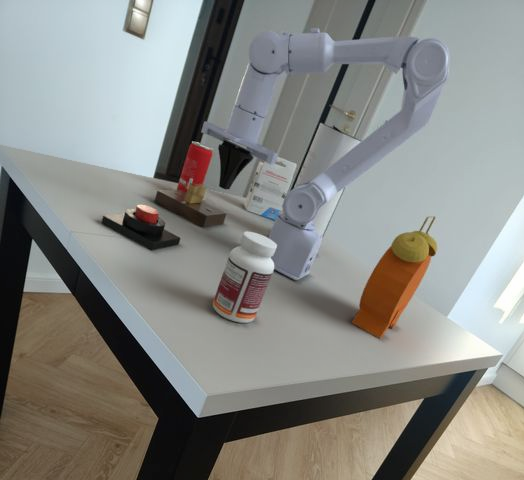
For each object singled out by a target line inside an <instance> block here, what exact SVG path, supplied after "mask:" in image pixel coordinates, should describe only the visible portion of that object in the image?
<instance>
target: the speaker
mask: <svg viewBox="0 0 524 480" xmlns="http://www.w3.org/2000/svg"><path fill="white" fill-rule="evenodd" d="M361 141H362V140H361V139H359V138H357V137H355V136H353V135H351V134H348V133H346V132H344V131H342V130H341V129H339V128H338V127H336V125H334V124H332V126H330V125H328V124H326V123H323V122H320V123H319V125H318V129H317V130H316V133H315V135H314V138H313V140H312V142H311V145H310V148H309V150H308V152H307V155H306V157H305V160H304V162H303V164H302V167H301V170H300V172H299V174H298V177H297V179H296V182H295V184H294V187H293V189H294V188H295V187H296V186H297V185H299V184H302V183H307V182H310V181H312V180H313V179H314V178H316V177H317V176H318V175H320V174H321V173H322V172H323V171H325V170H326V169H327V168H329V167H330V166H331V165H332V164H334V163H335V162H336V161H337V160H339V159H340V158H341V157H342V156H344V155H345V154H346V153H348V152H349V151H350V150H351V149H353V148H354V147H355V146H356V145H358V144H359V143H360V142H361ZM345 189H346V187H345V188H343V189H342V190H341V191H339V192H338V193H337V194H336V195H335V196H334V197H332V198H331V199H330V200H329V201H328V202H327V203H325V204H324V205H323V206H322V207H321V208H320V210H319V211H318V213H317V215H316V217H315V218H314V219H313V224H314V225H315V227H314V229H313V230H314V231H315V232H317V233H319V234H320V235H322V237H323V238H324V237H325V234H326V231H327V230H328V227H329V225H330V223H331V222H332V221H331V220H332V219H333V217H334V214H335V211H336V209H337V207H338V205H339V203H340V201H341V198H342V196H343V194H344V192H345Z"/></svg>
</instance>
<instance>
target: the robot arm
mask: <svg viewBox="0 0 524 480" xmlns="http://www.w3.org/2000/svg"><path fill="white" fill-rule="evenodd" d="M280 31H281V32H280V35H278V34H277V32H275V31H273V30H267V31H265V32H261V33H259V34H257V35H255V37H253V39H252V40H251V41H250V44H249V48H248V59H249V61H248V64H247V67H246V69H245V73H244V76H243V77H242V79H241V84H240V86H239V89H238V93H237V95H236V97H235V98H236V99H235V102H234V105H233V107H232V110H231V115H230V118H229V121H228V123H227V126H226V128H223V127H221V126H218V125H217V124H214V123H212V122H209V121H204V122H203V125H202V128H201V131H200V132H201V133H202V134H204V135H207V136H210V137H212V138H214V139H216V140H219V141H220V142H221V144H218V147H217V150H218V156H219V165H220V166H219V182H218V187H219V188H221V189H223V190H231V187H232V185H233V184H234V182H235V181H236V179H237V178H238V176H239V175H240V173H241V172H242V171H243V170H244V169H245V168H246V167H247V166H248V165H249V164H250V163H251V162H252V161H253V160H254V157H255V158H257V159H259V160H261V161H263V162H264V161H266V163H269V164H272V165H274V164H276V163H277V162H276V159H277V157H279V153H277V152H275V151H274V150H271V149H269V148H267V147H265V146H263V145H262V144H259V143H258V140H259V137H260V134H261V132H262V129H263V127H264V123H265V120H266V117H267V114H268V111H269V109H270V106H271V104H272V100H273V97H274V95H275V91H276V90H275V88H276V86H277V84H278V81H279V77H280V75H282V74H283V73H284V72H285V74H287V75H301V74H302V75H305V74H310V75H311V74H325V73H327V72H328V71H329V70H330V68H331V67H332V66H334V65H382V66H384V67H385V68H387V69H388V70H389V71H391V72H392V73H394V74H395V75H398V73H399V71H400V69H401V70H402V71H401V73H402V81H403V82H402V83H403V88H404V90H403V94H402V100H401V106H400V109H399V111H398V112H397V113H395V114H394V115H393V116H392V117H391V118H389V119H388V120H386V121H385V122H384V123H383V124H382V125H380V126H379V127H377V128H376V129H375V130H374V131H373V132H371V133H370V134H369V135H367V136H366V137H365V138H363V140H361V142H360V143H359V144H358V145H356V146H355V147H354V148H353V149H351V150H350V151H349V152H348V153H346V154H345V155H344V156H342V157H341V158H340V159H339V160H337V161H336V162H335V163H334V164H332V165H331V166H330V167H329V168H327V169H326V170H325V171H323V172H322V173H321V174H320V175H318V176H317V177H316V178H314V179H313V180H312V181H310V182H307V183H302V184H299V185H297V186H296V187H295V188H294V187H293V188H292V189H291V190H290V191H288V192H287V194H286V196H285V198H284V201H283V204H282V210H280V211H279V212H278V215H277V217H276V220H274V223H273V225H272V227H271V230H270V232H269V234H268V237H267V238H269V239H271V240H272V241H273V242H275V243H276V245H277V248H276V250H275V253H274V255H273V256H271V259H272V261H273V262H274V270H275V271H276V272H278V273H280V274H281V275H284V276H285V277H287V278H290V279H292V280H294V281H298V280H300V279H302V278H304V277H306V276H308V275H309V274H310V270H311V268H312V266H313V263H314V261H315V259H316V257H317V255H318V252H319V250H320V248H321V246H322V243H323V238H324V236H323V237H322V235H320V234H319V233H317V232H315V231H314V230H313V229H314V227H315V225H314V224H313V219H314V218H315V217H316V215H317V213H318V211H319V210H320V208H321V207H322V206H323V205H324V204H325V203H327V202H328V201H329V200H330V199H331V198H332V197H334V196H335V195H336V194H337V193H338V192H339V191H341V190H342V189H343V188H345V189H346V187H347V186H349V185H350V184H351V183H353V182H355V181H356V180H357V179H358V178H360V177H361V176H362V175H363V174H364V173H366V172H367V171H368V170H370V169H371V168H372V167H373V166H374V165H377V163H379V162H380V161H381V160H383V159H385V157H387V156H388V155H390V154H391V153H392V152H394V151H395V150H396V149H397V148H399V147H400V146H401V145H402V144H404V143H405V142H406V141H408V140H409V139H411V138H412V137H413V136H414V135H415V134H417V133H418V132H420V131H421V130H422V129H424V128H425V127H426V126H427V125H428V124H429V122H430V120H431V118H432V115H433V113H434V111H435V109H436V106H437V104H438V101H439V98H440V97H441V94H442V92H443V90H444V88H445V86H446V84H447V82H448V81H449V73H450V72H449V71H450V63H451V58H450V57H451V56H450V51H449V49H448V46H447V45H446V44H445V42H443V41H442V40H440V39H438V38H435V37H434V38H433V37H428V38H424V39H422V40H420V39H421V38H420V37H417V36H385V37H376V38H375V37H374V38H373V37H372V38H362V39H350V40H349V39H348V40H347V39H346V40H333V39H332V38H331V36H330V35H329V33H327V32H321V30H320V28H319V27H314V28H313V27H312V28H311V29H310V32H306V33H302V32H301V33H289V31H288V30H280ZM419 40H420V41H419Z"/></svg>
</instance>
